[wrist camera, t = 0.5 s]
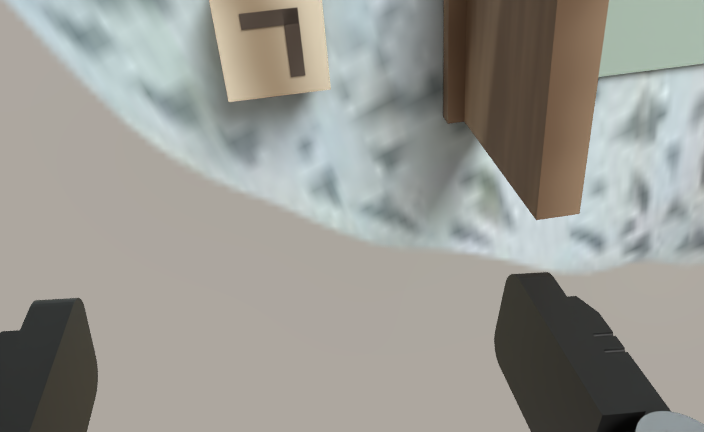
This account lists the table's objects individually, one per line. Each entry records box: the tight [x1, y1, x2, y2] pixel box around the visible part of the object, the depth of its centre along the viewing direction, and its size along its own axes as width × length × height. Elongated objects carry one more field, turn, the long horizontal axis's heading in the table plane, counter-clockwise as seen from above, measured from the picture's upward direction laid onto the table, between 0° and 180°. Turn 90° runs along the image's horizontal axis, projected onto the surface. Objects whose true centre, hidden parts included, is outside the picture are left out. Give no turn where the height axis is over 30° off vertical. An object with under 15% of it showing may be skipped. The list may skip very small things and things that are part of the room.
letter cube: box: [209, 0, 331, 102], centre depth 32 cm, size 5×5×5 cm
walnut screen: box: [443, 0, 609, 220], centre depth 29 cm, size 4×14×12 cm, turn 4°
